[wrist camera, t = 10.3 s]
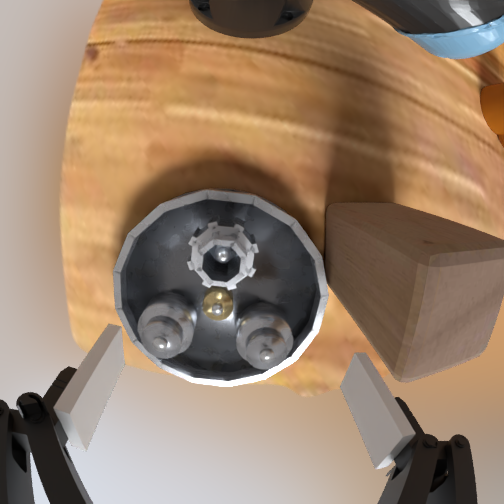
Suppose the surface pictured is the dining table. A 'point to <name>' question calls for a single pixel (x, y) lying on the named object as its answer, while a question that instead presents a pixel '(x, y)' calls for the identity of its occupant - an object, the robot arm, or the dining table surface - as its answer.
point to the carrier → (220, 291)
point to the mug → (494, 108)
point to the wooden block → (414, 284)
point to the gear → (223, 235)
